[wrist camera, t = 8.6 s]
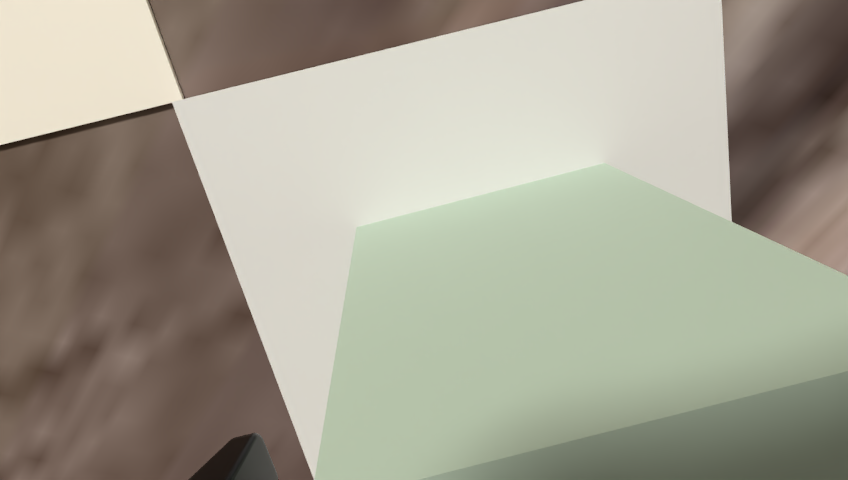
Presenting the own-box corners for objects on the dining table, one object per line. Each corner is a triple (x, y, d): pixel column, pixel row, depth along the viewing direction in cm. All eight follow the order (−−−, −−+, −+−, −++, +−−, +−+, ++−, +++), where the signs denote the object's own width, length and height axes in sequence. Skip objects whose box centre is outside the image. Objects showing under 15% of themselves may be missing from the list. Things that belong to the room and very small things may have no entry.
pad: (701, -28, 10) (720, -33, 10) (727, 441, 14) (742, 458, 13) (183, 99, 10) (171, 101, 10) (344, 533, 14) (341, 554, 13)
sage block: (604, 162, 11) (980, 338, 4) (634, 377, 12) (936, 758, 5) (356, 226, 11) (310, 507, 4) (418, 431, 12) (458, 873, 6)
